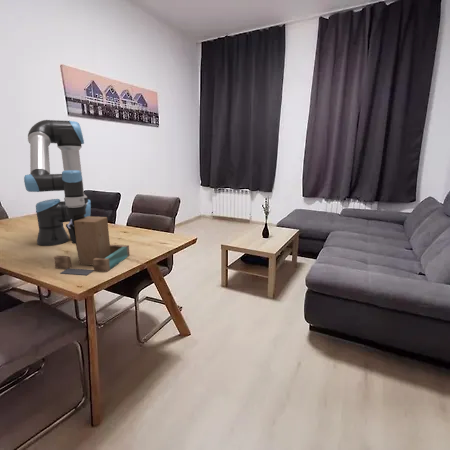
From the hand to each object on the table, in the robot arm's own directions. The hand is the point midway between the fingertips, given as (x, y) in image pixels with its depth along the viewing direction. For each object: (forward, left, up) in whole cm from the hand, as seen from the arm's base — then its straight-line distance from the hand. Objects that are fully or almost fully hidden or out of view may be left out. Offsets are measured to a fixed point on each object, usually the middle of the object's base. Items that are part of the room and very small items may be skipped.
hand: (81, 256), depth 132 cm
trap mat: (+6, -12, -2) cm, 14 cm away
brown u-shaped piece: (+5, 0, -2) cm, 6 cm away
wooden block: (+7, 0, -2) cm, 7 cm away
